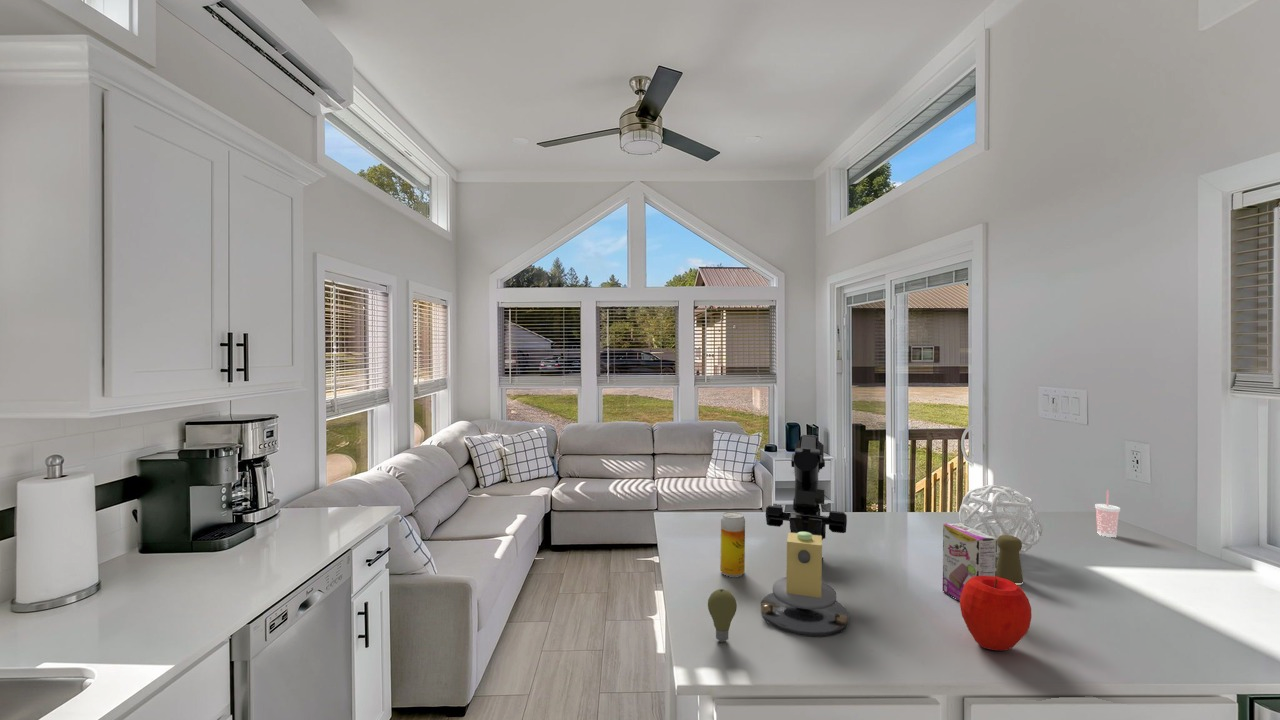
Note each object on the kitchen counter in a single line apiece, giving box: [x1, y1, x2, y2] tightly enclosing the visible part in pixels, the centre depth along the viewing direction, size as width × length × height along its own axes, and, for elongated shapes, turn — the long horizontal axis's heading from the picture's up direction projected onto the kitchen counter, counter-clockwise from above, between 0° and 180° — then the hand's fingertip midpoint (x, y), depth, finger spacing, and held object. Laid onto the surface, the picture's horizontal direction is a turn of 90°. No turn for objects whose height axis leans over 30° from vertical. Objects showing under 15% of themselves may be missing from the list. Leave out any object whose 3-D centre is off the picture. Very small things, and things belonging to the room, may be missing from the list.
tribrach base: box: [760, 592, 850, 638], centre depth 120 cm, size 19×18×4 cm
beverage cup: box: [1094, 489, 1121, 538], centre depth 173 cm, size 6×6×14 cm
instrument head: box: [772, 531, 837, 610], centre depth 119 cm, size 13×13×13 cm
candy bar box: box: [942, 522, 998, 602], centre depth 126 cm, size 11×5×16 cm, turn 9°
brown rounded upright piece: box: [996, 535, 1024, 583], centre depth 138 cm, size 6×6×11 cm
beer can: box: [719, 511, 746, 578], centre depth 142 cm, size 6×6×15 cm
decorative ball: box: [958, 484, 1044, 557], centre depth 155 cm, size 20×20×19 cm
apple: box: [958, 576, 1032, 651], centre depth 107 cm, size 12×12×13 cm
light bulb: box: [707, 588, 738, 643], centre depth 109 cm, size 6×6×10 cm
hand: (804, 552), depth 131 cm, fingers closed
